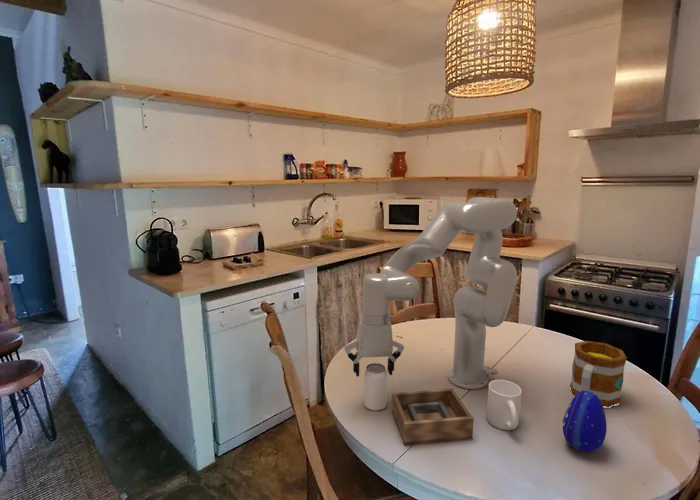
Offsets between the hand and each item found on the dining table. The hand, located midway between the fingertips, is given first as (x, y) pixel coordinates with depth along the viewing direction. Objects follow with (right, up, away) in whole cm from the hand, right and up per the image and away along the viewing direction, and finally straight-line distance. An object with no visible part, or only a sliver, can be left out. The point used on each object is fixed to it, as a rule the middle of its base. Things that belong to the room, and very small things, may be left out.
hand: (373, 373), depth 112 cm
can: (+1, -10, +2) cm, 11 cm away
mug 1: (+35, -12, -7) cm, 38 cm away
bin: (+15, -12, -7) cm, 20 cm away
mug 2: (+66, -10, +4) cm, 67 cm away
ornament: (+51, -14, -15) cm, 55 cm away
